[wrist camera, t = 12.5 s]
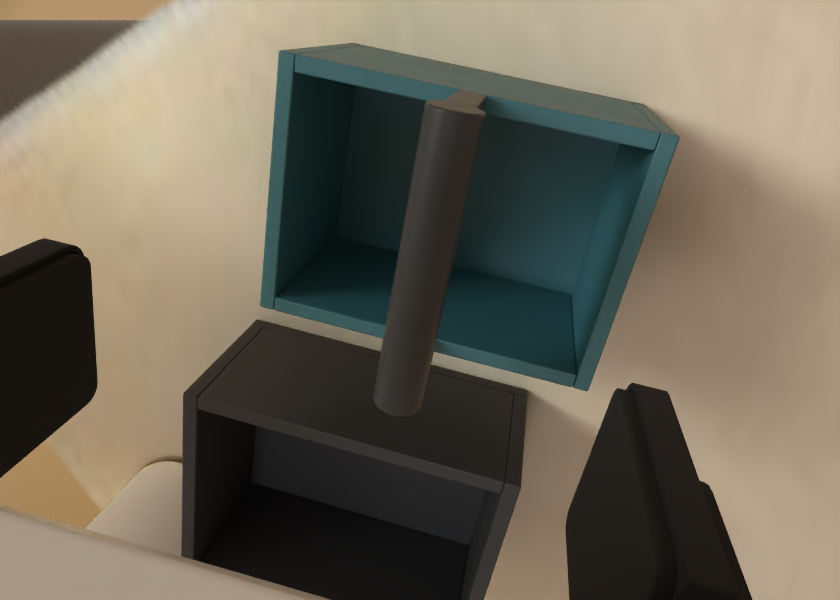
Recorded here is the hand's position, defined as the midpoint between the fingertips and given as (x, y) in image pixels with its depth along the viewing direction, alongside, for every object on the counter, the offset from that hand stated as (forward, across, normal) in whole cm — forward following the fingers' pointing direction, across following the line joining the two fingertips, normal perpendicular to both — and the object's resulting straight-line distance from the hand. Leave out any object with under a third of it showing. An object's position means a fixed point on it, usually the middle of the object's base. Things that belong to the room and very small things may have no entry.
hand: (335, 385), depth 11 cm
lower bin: (+16, +1, +14) cm, 21 cm away
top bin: (+16, -1, 0) cm, 16 cm away
